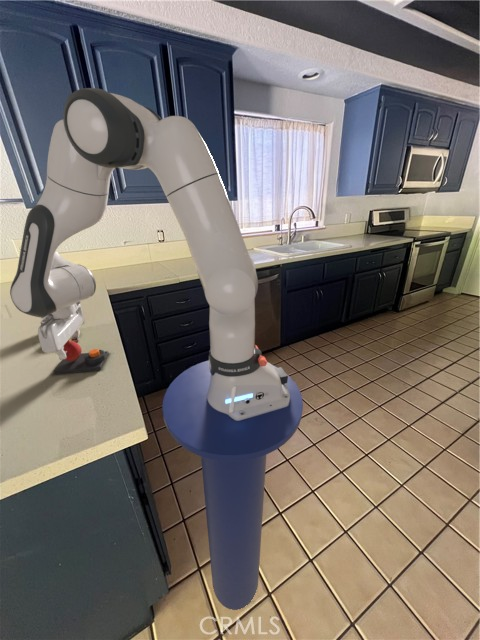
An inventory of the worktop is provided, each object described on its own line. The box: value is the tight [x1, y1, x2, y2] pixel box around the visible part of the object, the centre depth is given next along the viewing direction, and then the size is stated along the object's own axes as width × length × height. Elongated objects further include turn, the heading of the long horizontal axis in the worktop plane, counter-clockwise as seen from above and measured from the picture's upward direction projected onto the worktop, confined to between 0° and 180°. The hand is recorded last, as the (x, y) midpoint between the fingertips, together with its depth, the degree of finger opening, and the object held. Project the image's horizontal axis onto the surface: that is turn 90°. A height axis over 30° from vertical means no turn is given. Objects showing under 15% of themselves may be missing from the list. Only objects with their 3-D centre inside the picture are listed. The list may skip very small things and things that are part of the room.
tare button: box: [88, 348, 100, 358], centre depth 83 cm, size 3×3×2 cm
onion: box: [63, 340, 83, 362], centre depth 81 cm, size 6×6×8 cm
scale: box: [53, 349, 110, 375], centre depth 83 cm, size 13×9×3 cm
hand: (70, 349), depth 81 cm, fingers open, 8 cm apart
